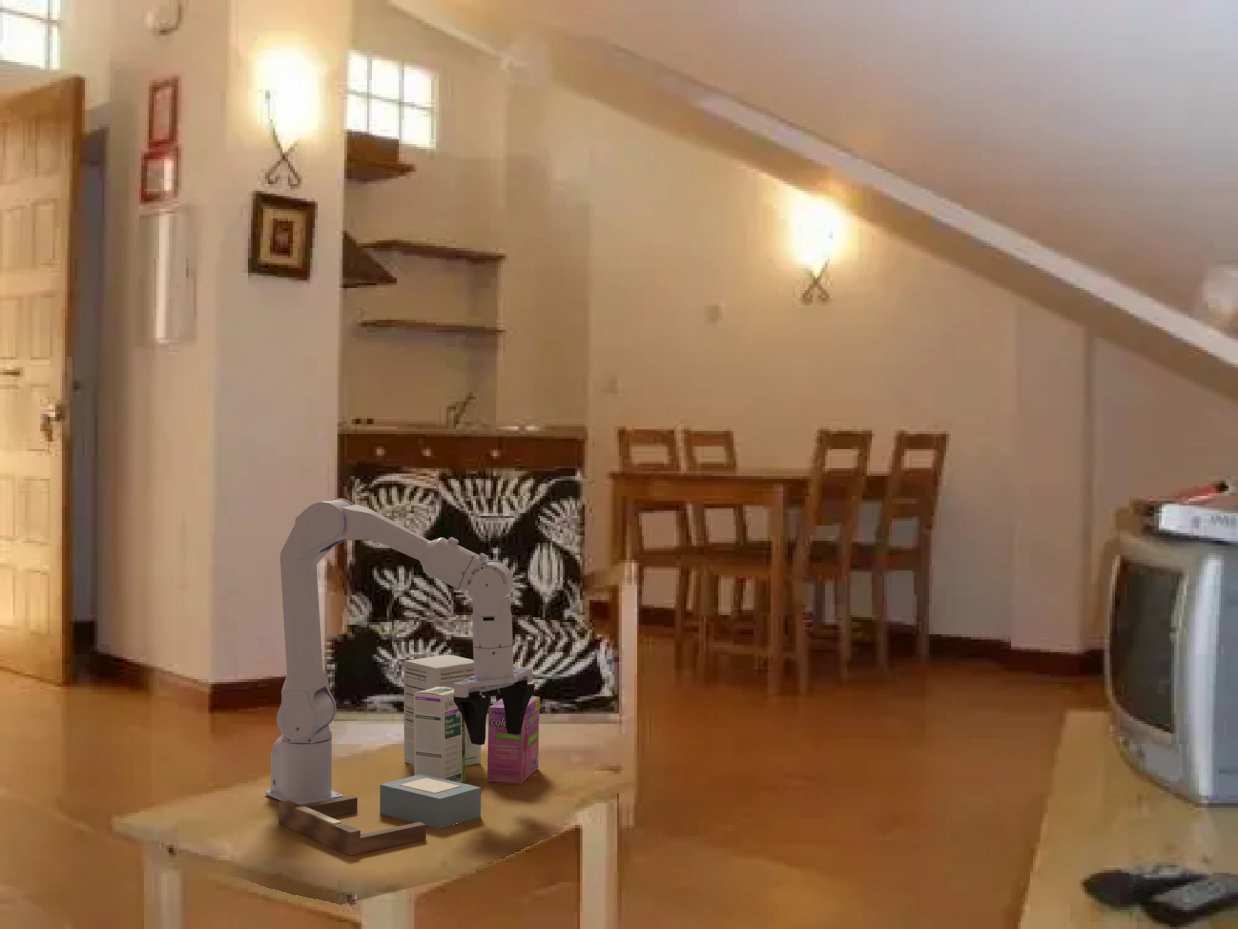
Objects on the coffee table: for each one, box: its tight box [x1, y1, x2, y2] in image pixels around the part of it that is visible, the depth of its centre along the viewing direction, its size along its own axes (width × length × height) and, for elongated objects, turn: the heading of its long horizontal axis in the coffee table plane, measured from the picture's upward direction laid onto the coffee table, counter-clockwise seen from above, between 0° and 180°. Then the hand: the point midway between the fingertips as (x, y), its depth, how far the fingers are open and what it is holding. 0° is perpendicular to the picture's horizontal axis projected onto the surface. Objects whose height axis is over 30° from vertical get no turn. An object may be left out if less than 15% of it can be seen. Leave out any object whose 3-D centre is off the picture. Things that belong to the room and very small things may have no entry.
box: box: [486, 695, 541, 785], centre depth 225 cm, size 10×6×12 cm, turn 168°
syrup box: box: [413, 687, 466, 783], centre depth 219 cm, size 6×6×14 cm
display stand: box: [278, 795, 427, 857], centre depth 193 cm, size 19×12×3 cm, turn 41°
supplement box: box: [403, 654, 482, 767], centre depth 232 cm, size 10×9×17 cm
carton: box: [379, 774, 482, 829], centre depth 201 cm, size 12×8×5 cm, turn 52°
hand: (496, 739), depth 207 cm, fingers open, 7 cm apart
